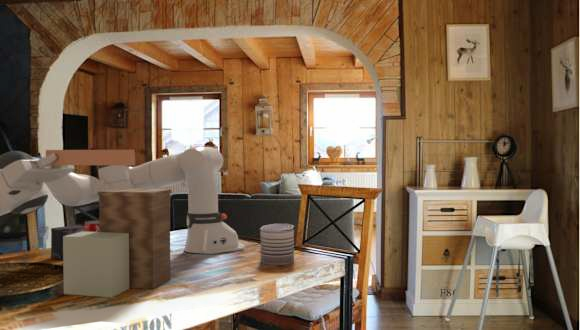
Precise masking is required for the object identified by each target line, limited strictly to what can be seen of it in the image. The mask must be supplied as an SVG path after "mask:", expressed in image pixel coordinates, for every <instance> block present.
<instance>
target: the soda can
mask: <svg viewBox="0 0 580 330" xmlns="http://www.w3.org/2000/svg"><path fill="white" fill-rule="evenodd" d="M83 226H84V227H83V231H85V232H100V225H99V220H89V221H88V220H87V221H84V225H83Z"/></svg>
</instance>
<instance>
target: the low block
mask: <svg viewBox="0 0 580 330" xmlns="http://www.w3.org/2000/svg"><path fill="white" fill-rule="evenodd" d="M62 261H63V262H62V263H63V265H62V266H63V268H62V269H63V294H64V295H75V296H87V297H88V296H89V297H101V298H102V297H104V298H113V297H116V296H117V295H120V294H121V293H123V292H126V291H127V290H130V288H129V233H111V232H85V231H83V232H79V233H74V234H70V235H66V236H63V259H62Z"/></svg>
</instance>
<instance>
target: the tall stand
mask: <svg viewBox="0 0 580 330" xmlns="http://www.w3.org/2000/svg"><path fill="white" fill-rule="evenodd" d="M97 193H98V195H99V201H98V203H99V204H98V207H99V209H98V210H99V212H98V213H99V214H98V215H99V217H98V221H99V225H100V232H111V233H129V289H130V288H131V289H133V288H134V289H146V290H154V289H156V288H157V287H159V286H161V285H163V284H166V283H167V282H168V281H170V280H171V199H170V198H171V195H170V194H172V189H164V188H159V189H113V190H105V191H97Z"/></svg>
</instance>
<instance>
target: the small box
mask: <svg viewBox="0 0 580 330" xmlns="http://www.w3.org/2000/svg"><path fill="white" fill-rule="evenodd" d="M83 227H84V225H80V224H73V225H66V226H59V227H51V228H50V231H51V235H50V239H51V240H50V241H51V242H50V243H51V244H50V253H51V254H50V258H53V259H55V260H62V261H63V236H66V235H70V234H74V233H79V232H83Z"/></svg>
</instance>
